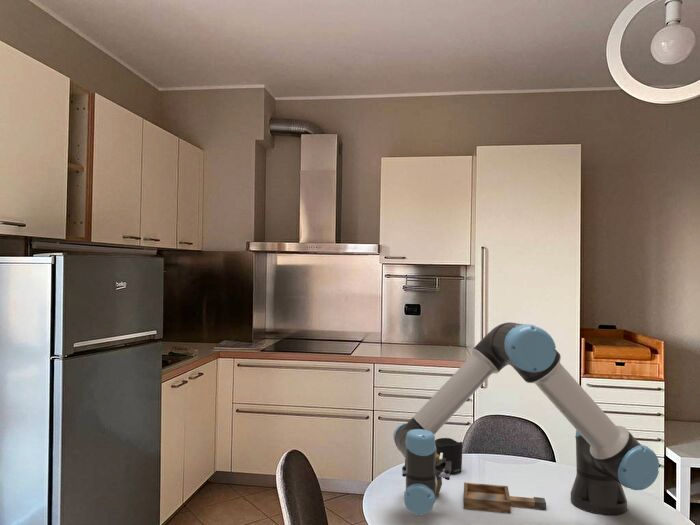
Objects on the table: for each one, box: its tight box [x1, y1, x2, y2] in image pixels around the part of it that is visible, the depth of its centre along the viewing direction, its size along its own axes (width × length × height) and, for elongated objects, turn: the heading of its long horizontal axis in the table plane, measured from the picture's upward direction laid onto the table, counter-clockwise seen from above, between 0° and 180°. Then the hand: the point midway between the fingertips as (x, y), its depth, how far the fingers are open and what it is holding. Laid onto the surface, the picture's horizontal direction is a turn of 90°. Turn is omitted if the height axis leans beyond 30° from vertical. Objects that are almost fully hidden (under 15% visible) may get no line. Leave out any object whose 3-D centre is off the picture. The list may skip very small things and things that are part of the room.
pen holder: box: [435, 437, 463, 475], centre depth 187 cm, size 9×9×10 cm
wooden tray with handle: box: [463, 481, 547, 514], centre depth 158 cm, size 23×13×3 cm, turn 77°
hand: (430, 456), depth 170 cm, fingers closed on squeeze bottle, 6 cm apart
